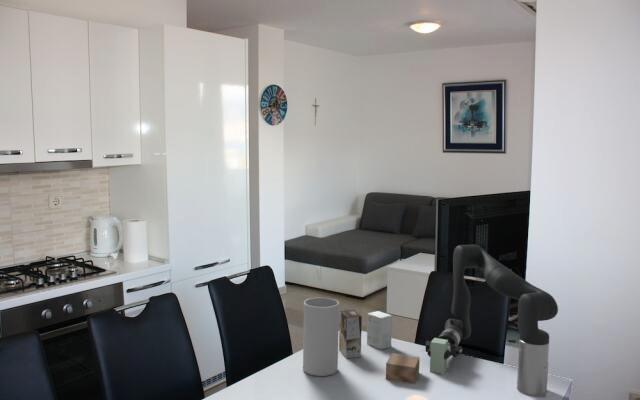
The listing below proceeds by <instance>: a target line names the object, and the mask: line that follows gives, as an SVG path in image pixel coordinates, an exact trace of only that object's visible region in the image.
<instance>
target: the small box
mask: <svg viewBox="0 0 640 400" xmlns="http://www.w3.org/2000/svg"><path fill="white" fill-rule="evenodd" d="M392 320H393V315H392V314H388V313H385V312H383V311H380V310H377V311H372V312H367V321H366V322H367V323H366V324H367V325H366V344H367V346H368V345H369V346H371V347H373V348H377V349H378V350H384V349H386V348H389V347H392V329H393V328H392V327H393V323H392V322H393V321H392Z"/></svg>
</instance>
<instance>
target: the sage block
mask: <svg viewBox="0 0 640 400" xmlns="http://www.w3.org/2000/svg"><path fill="white" fill-rule="evenodd" d="M430 343H431V357H429V358H430V359H429V360H430V361H429V372H431V373H437V374H441V375H444V374H445V373H446V371H447V370H448V359H444V353H445V352H446V351H447V349H448V340H445V339H439V338H438V337H434V338H433V339H432V340H431V341H430Z"/></svg>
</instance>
